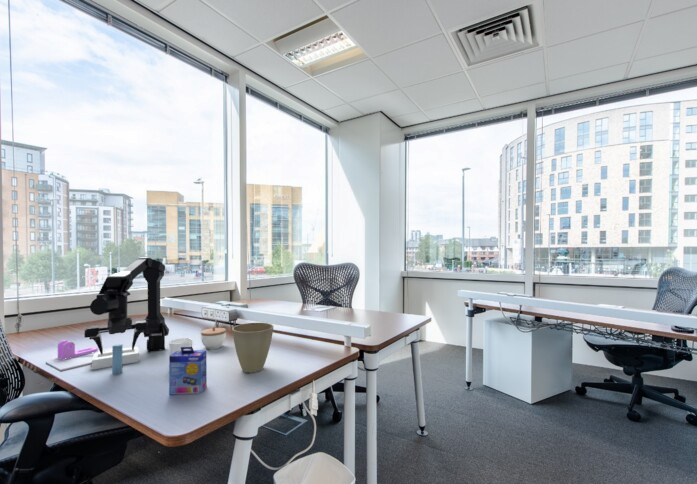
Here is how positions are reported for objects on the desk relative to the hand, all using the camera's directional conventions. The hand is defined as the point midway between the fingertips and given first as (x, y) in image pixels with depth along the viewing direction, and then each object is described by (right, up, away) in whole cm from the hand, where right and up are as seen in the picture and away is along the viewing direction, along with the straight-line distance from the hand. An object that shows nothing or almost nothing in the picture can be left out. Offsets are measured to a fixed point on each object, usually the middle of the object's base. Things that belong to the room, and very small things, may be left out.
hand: (117, 351), depth 118 cm
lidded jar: (+23, -8, +30) cm, 39 cm away
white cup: (+20, -8, +5) cm, 23 cm away
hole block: (-9, -8, +12) cm, 17 cm away
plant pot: (+49, -8, +2) cm, 50 cm away
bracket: (-32, -9, +21) cm, 39 cm away
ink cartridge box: (+34, -7, -16) cm, 38 cm away
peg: (0, -8, 0) cm, 8 cm away
